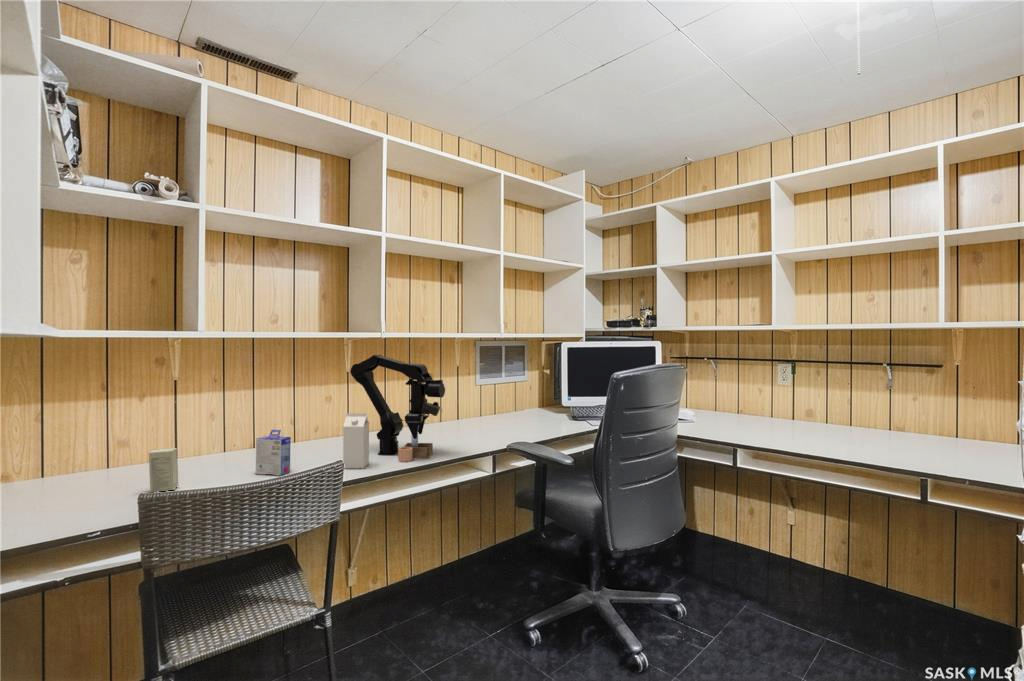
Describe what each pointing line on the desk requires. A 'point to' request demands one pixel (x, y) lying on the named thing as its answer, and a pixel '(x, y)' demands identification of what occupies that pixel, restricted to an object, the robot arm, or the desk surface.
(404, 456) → the terracotta pot
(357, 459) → the milk carton
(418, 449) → the walnut tray
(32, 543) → the desk surface
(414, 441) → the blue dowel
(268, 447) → the ink cartridge box
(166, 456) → the skincare box
